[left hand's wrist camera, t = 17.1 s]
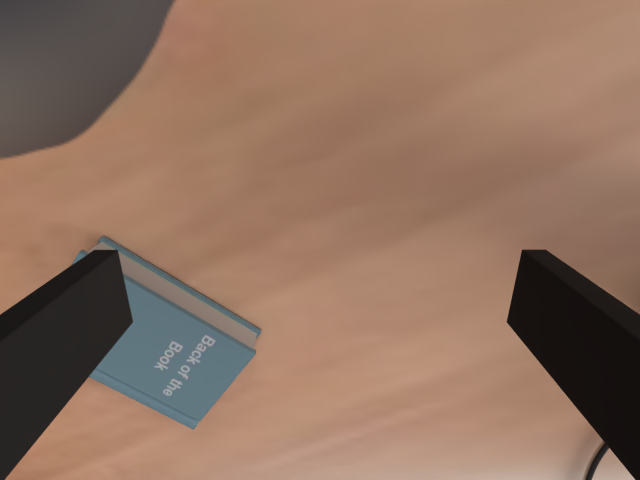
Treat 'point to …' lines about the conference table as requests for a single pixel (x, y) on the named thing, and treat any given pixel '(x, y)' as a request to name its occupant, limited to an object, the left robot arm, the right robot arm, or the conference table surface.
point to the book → (173, 343)
